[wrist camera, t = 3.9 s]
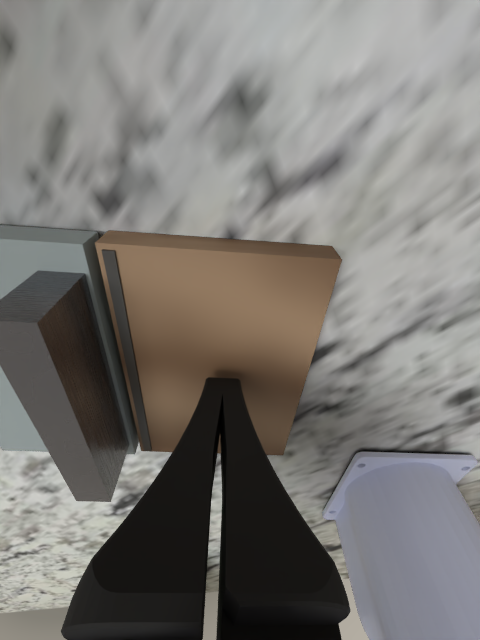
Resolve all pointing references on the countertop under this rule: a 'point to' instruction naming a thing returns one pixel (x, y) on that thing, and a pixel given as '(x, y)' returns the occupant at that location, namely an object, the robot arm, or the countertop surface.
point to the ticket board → (214, 325)
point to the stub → (62, 359)
